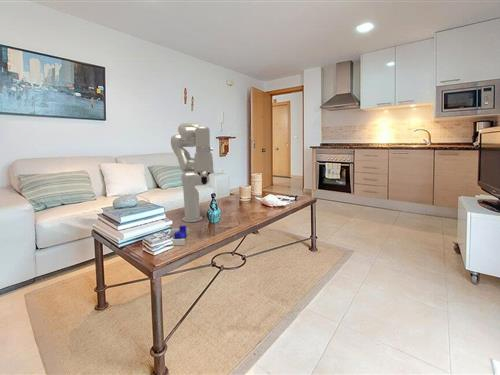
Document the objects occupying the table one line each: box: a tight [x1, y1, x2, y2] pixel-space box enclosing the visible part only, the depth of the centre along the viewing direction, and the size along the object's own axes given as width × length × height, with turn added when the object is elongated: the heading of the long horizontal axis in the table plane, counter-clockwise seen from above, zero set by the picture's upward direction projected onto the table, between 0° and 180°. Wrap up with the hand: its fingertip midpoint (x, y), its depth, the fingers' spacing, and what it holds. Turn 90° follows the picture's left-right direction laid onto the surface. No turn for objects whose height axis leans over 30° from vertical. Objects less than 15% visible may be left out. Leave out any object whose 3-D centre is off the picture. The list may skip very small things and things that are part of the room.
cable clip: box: [173, 225, 187, 240], centre depth 136 cm, size 12×4×6 cm, turn 0°
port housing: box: [167, 227, 190, 247], centre depth 137 cm, size 17×10×3 cm, turn 6°
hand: (204, 184), depth 145 cm, fingers closed
